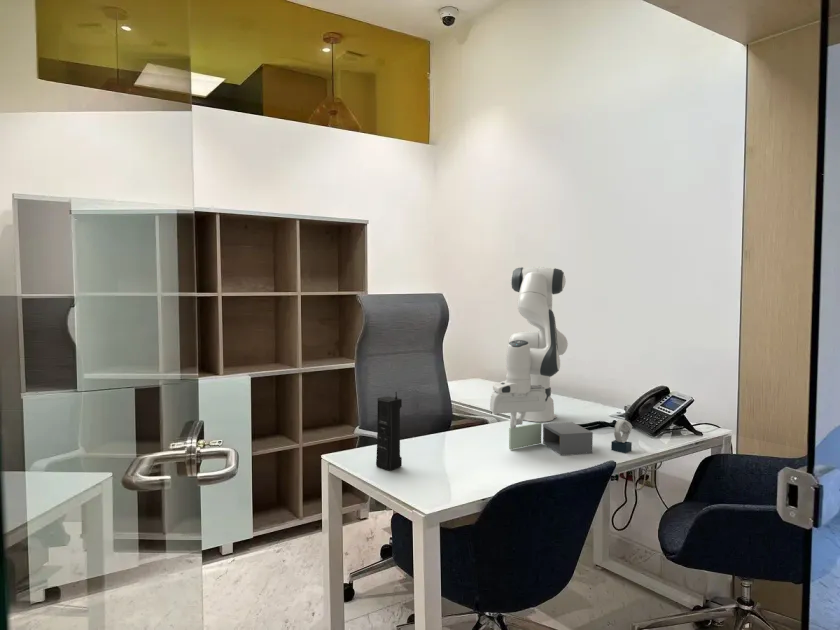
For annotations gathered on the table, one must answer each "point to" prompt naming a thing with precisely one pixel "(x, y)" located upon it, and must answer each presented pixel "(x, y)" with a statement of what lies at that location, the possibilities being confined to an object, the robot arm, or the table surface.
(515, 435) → the side door
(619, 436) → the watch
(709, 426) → the table surface
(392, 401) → the portable radio
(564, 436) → the case
